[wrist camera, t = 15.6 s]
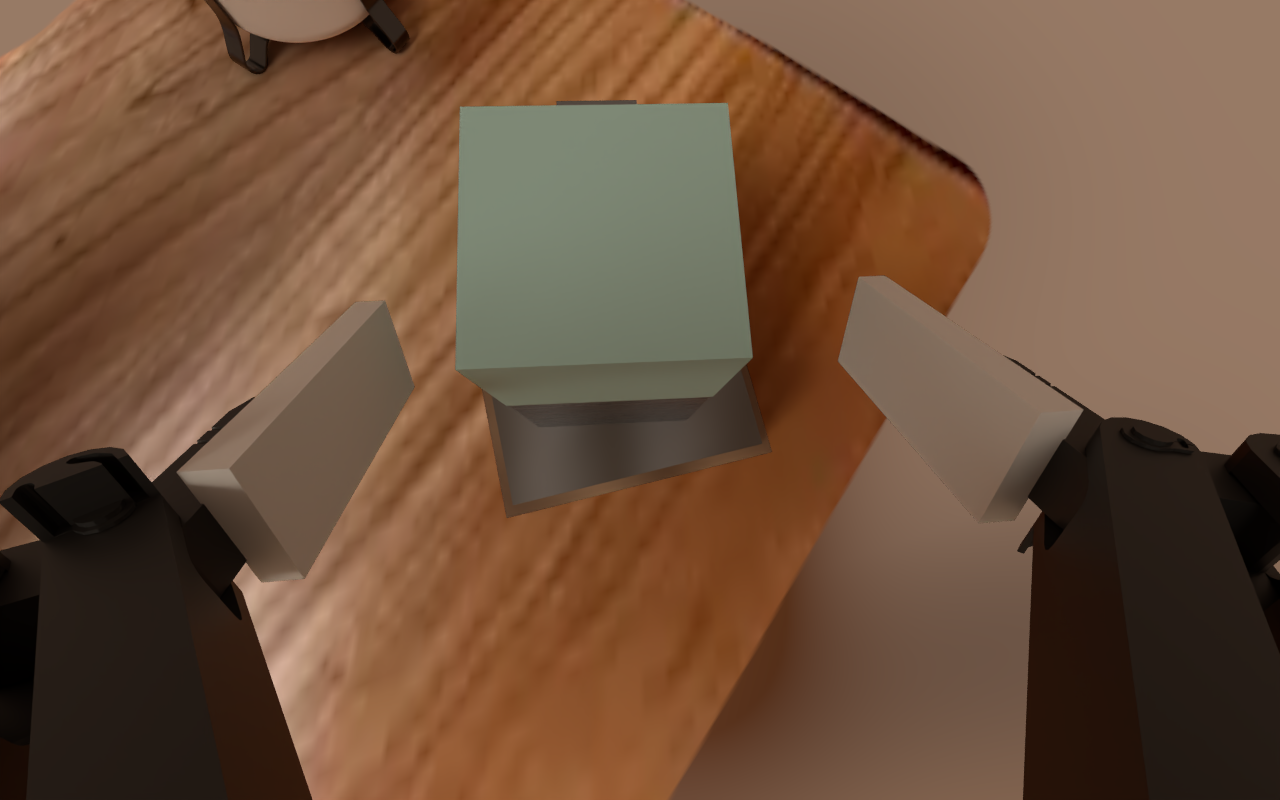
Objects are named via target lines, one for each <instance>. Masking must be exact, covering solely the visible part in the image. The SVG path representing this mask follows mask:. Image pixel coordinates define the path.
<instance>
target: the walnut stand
mask: <svg viewBox="0 0 1280 800" xmlns="http://www.w3.org/2000/svg"><path fill="white" fill-rule="evenodd" d="M482 392H483V397H484V402H485V407H486V413H487V418H488V423H489V428H490V433H491V439H492V444H493V449H494V454H495V460H496V465H497V470H498V475H499V480H500V486H501V491H502V496H503V501H504V507H505V512H506V517H507V518H509V517H513V516H517V515H521V514H525V513H529V512H533V511H537V510H542V509H546V508H550V507H554V506H558V505H562V504H566V503H570V502H574V501H578V500H582V499H586V498H590V497H594V496H598V495H602V494H606V493H610V492H614V491H618V490H622V489H626V488H630V487H634V486H638V485H642V484H646V483H650V482H654V481H658V480H662V479H666V478H670V477H674V476H678V475H682V474H686V473H690V472H694V471H698V470H702V469H706V468H710V467H714V466H718V465H722V464H726V463H730V462H734V461H738V460H742V459H746V458H750V457H754V456H758V455H762V454H766V453H770V452H772V450H771V447H770V443H769V440H768V436H767V433H766V430H765V426H764V423H763V419H762V416H761V412H760V409H759V406H758V402H757V399H756V395H755V392H754V388H753V385H752V382H751V378H750V375H749V371H748V368H747V364H746V365H745V366H744V367H743V368H742V369H741V370H740V371H739V372H738V373H737V374H736V375H735V376H734V377H733V378H732V379H730V380H729V381H728V382H727V383H726V384H725V385H724V386H723V387H722V388H721V389H720V390H719V391H718V392H717V393H716V394H715V395H714V396H713V397H709V398H708V399H707V400H706V401H705V402H704V403H703V404H702V405H701V406H700V407H699V408H698V409H697V410H696V411H695V412H694V413H693V414H692V415H691V416H690V417H689V418H688V419H687V420H681V421H661V422H640V423H620V424H600V425H580V426H560V427H538V426H537V425H535V424H534V423H532V422H531V421H530V420H528V419H527V418H526V417H524V416H523V415H522V414H520V413H519V412H517V411H516V410H515V409H513V408H512V407H511V406H506V405H504V404H503V403H501V402H500V401H499V400H497V399H496V398H494V397H493V396H492V395H490V394H489V393H487V392H486V391H485V390H483V389H482Z"/></svg>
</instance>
